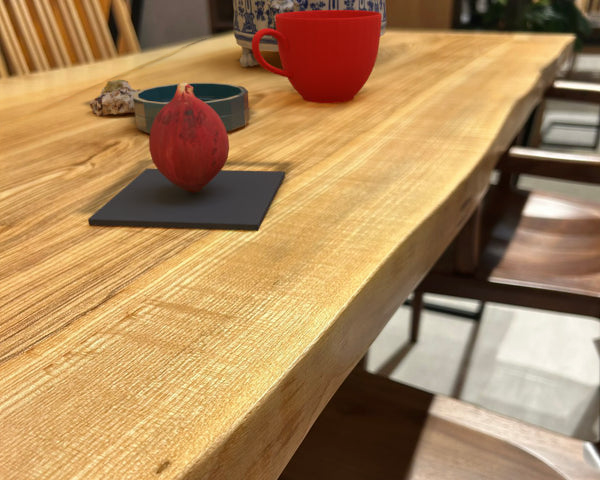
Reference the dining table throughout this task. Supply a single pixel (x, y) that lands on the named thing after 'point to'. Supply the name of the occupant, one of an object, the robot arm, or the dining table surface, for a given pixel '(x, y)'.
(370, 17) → the ceramic cup
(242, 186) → the mat
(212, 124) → the onion
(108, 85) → the mineral rock
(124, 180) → the dining table surface
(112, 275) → the dining table surface
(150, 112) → the teal bowl
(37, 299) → the dining table surface
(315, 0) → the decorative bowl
